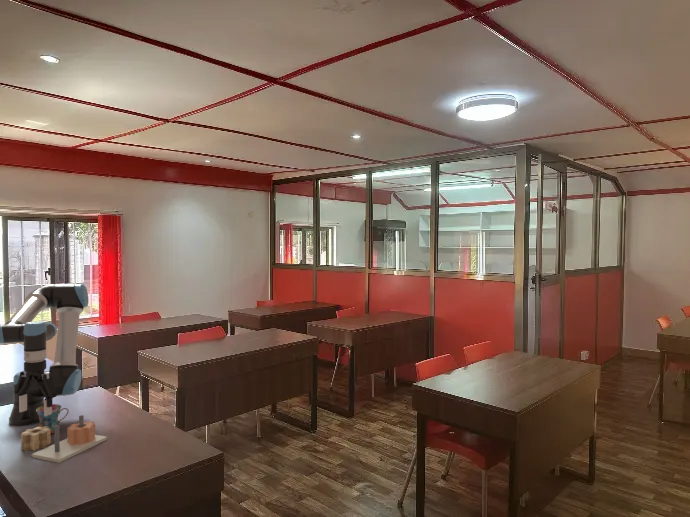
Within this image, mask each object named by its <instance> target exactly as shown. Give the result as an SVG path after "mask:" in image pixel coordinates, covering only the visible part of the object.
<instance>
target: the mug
mask: <svg viewBox="0 0 690 517" xmlns="http://www.w3.org/2000/svg"><path fill="white" fill-rule="evenodd" d="M63 410H67V412H66V414H65V416H63V417H62V418H61V419H59V415H61V414H60V413H61V412H62V411H63ZM36 412H37V414H38V416H39V420H40V422H39V425H38V427H42V428H43V427H45V426H47V427H49V429H50V435H51V434H55V427H54V426H55V425H59V431H60V429H61V425H60V424H61V421H63V420H64V419H65V418H66V417H67V416H68V414H69V409H68V408H67V407H63V408H62V405H61V404H58V403H57V404H53V403H52V414H50V415H47V416H44V406H42V407H39V408H37V409H36Z"/></svg>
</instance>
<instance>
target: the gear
mask: <svg viewBox="0 0 690 517" xmlns="http://www.w3.org/2000/svg"><path fill="white" fill-rule="evenodd" d="M20 438H21V439H20V440H21V441H20V442H21V443H20V446H21V447H20V448H21V449H22V451H23V452H28V451H29V450H30V451H37V450H38V449H44V448H47V447H48V445H50V444H51V443H52V442H51V441H52V440H51V438H52V437H51V434H50V429H49V427H47V426H45V427H43V428H42V427H39V426H36V427H34V428H27V429H25V430H24V431H23V432H21V433H20Z"/></svg>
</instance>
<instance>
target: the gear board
mask: <svg viewBox="0 0 690 517" xmlns="http://www.w3.org/2000/svg"><path fill="white" fill-rule="evenodd" d="M84 418H85V417H84V415H83V414H82V415H78V423H75V422H74V423H72V424H70V426H68V427H67V433H66V434H67V438H65V439H63V440H60V430H59V426H60V424H59V425H55V426H54V427H55V433H54V443H53V444H51V445H49V446H47V447H45V448H41V449H40V450H38V451H37V450H36V451H35V452H33V453H32V454H31V458H33V459H39V460H43V461H44V460H45V461H47V462H53V463H58V464H60V463H61V462H62V463H63V462H64V461H66V460H68V459H70V458H72V457H74V456H76V455H78V454H80V453H83V452H84V451H87V450H88V449H90V448H92V447H94V446H96V445H98V444H100V443H102V442H105V441H107V438H108V437H107V436H106V435H105V436H104V435H99V434H96V423H95V422H94V421H92V420H89V421H84V420H85V419H84Z"/></svg>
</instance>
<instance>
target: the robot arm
mask: <svg viewBox="0 0 690 517" xmlns="http://www.w3.org/2000/svg"><path fill="white" fill-rule="evenodd" d="M88 306H89V294H88V289H87V287H86V285H85V284H83V283H49V284H45V285H42V286H40V287H37V288H36V289H34V290H33V291H31V292H30V293H28V295H26V296H25V298H24V302H23V304H21V306H20V307H19V308H18V309H17V310H16V311H15V312H14V313H13V315H12V316H11V317H10V318H9V319H8V320H7V321H6V322H5V323H4V324H2V323H1V324H0V344H11V343H12V344H14V343H23V361H24V362H23V370H21V371H20V372H17V373H16V374H15V375H13V383H12V387H13V388H12V389H13V390H12V392H13V393H12V394H13V396H12V397H13V407H12V409H11V411H10V412H11V413H10V416H9V417H8V424H9V425H10V426H13V427H25V426H30V425H34V424H35V425H36V424H38V423H39V424H40V420H39V416H38V414H37V412H36V409H37V408H39V407H42V406H44V416H47V415H50V414H52V404H53V400H54V398H56V397H61V396H64V397H65V396H69V395H70V396H71V395H74V394H76V393H77V392H78V390H79V388H80V386H81V382H82V374H83V373H82V370H81V369H79V365H78V364H77V363H76V362H75V361H76V354H77V344H78V333H79V324H80V316H81V313H83V312H84V308H87V307H88ZM49 308H53V309H54V308H56V310H55V311H57V313H58V314H59V316H58V324H57V327H56V325H55V323H52V322H48V321H47V322H46V321H44V320H43V321H42V320H41V321H40V320H39V321H34V320H35V318H36V317H37V315H38V314H39V313H40V312H43V311H44V310H46V309H49ZM55 336H56V341H55V350H54V358H53V359H54V360H53V363H52V364H51V365H50V366H49V370H46V369H47V360H46V359H47V341H50V340H52V339H53V338H54V337H55Z"/></svg>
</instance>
